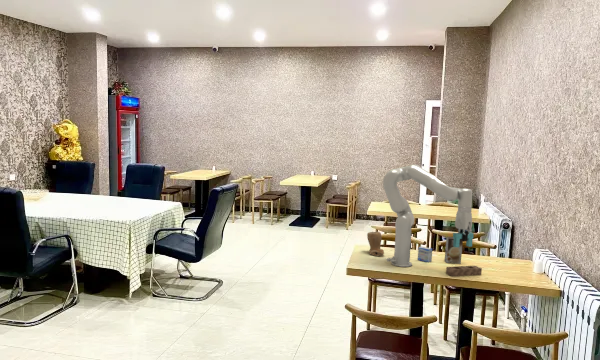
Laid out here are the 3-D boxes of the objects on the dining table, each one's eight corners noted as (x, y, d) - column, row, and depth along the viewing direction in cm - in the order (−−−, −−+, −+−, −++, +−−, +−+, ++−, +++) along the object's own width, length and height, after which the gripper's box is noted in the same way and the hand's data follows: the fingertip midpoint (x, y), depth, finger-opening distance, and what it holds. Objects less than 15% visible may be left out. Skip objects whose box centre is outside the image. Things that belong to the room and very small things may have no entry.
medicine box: (417, 260, 301) (418, 247, 301) (420, 259, 305) (421, 246, 304) (428, 262, 296) (429, 249, 295) (431, 261, 299) (432, 248, 299)
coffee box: (446, 263, 297) (448, 238, 295) (444, 260, 303) (446, 236, 302) (461, 264, 296) (463, 239, 295) (458, 261, 302) (460, 237, 301)
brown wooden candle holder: (452, 276, 267) (452, 269, 267) (445, 273, 273) (446, 266, 272) (481, 275, 273) (481, 268, 273) (474, 272, 279) (475, 265, 278)
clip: (455, 247, 271) (456, 233, 270) (452, 246, 274) (453, 232, 273) (472, 246, 274) (473, 233, 274) (469, 245, 277) (470, 232, 277)
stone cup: (366, 250, 322) (368, 229, 320) (384, 252, 319) (385, 230, 318) (365, 255, 307) (366, 233, 306) (383, 257, 305) (385, 235, 303)
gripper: (450, 207, 279) (449, 238, 280) (468, 211, 263) (466, 243, 265) (461, 207, 281) (459, 237, 283) (479, 211, 266) (477, 243, 267)
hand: (462, 240), depth 274 cm, fingers closed on clip, 3 cm apart
